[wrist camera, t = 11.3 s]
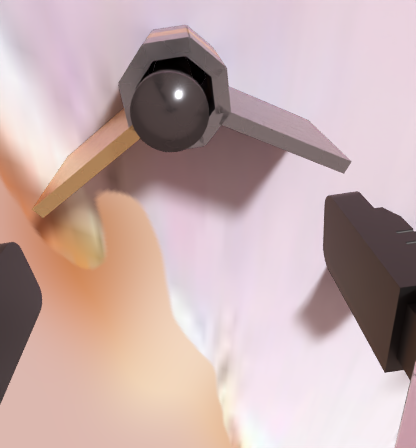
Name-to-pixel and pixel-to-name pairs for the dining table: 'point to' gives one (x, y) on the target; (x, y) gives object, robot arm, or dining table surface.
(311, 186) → the dining table surface
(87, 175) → the hinge
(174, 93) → the hinge pin
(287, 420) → the dining table surface
